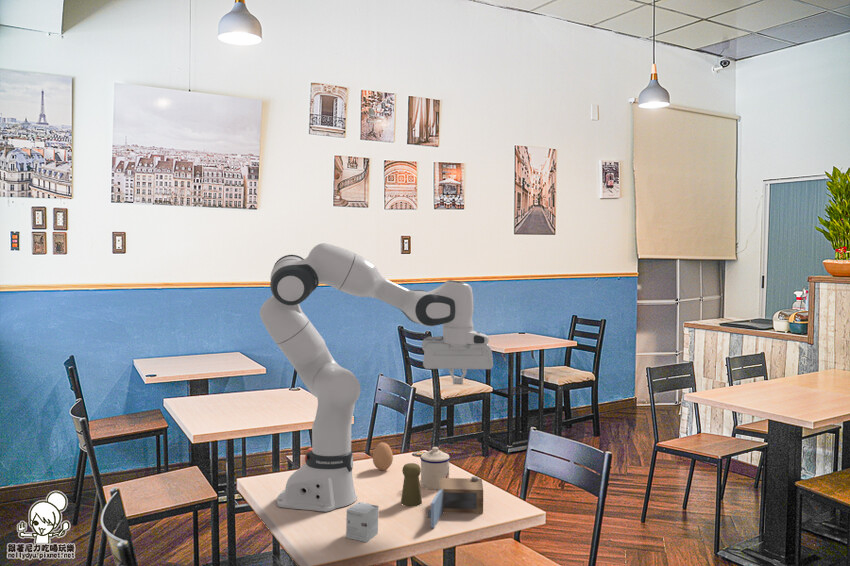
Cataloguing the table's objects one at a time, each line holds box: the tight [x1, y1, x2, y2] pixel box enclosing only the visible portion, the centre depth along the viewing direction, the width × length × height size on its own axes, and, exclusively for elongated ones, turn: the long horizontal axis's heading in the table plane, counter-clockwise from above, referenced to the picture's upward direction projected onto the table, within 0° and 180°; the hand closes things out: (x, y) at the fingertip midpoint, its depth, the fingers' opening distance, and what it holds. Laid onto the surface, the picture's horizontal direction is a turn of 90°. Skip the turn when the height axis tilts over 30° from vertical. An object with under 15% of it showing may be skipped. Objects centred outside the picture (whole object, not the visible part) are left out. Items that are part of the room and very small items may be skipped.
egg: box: [372, 441, 394, 472], centre depth 216 cm, size 7×7×9 cm
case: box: [439, 476, 484, 514], centre depth 185 cm, size 12×9×7 cm
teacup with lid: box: [419, 446, 451, 490], centre depth 203 cm, size 12×9×12 cm
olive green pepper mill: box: [400, 462, 423, 507], centre depth 188 cm, size 6×6×11 cm
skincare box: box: [345, 501, 379, 543], centre depth 165 cm, size 6×6×7 cm
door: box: [426, 489, 444, 529], centre depth 175 cm, size 11×2×6 cm, turn 166°
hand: (457, 384), depth 191 cm, fingers closed
